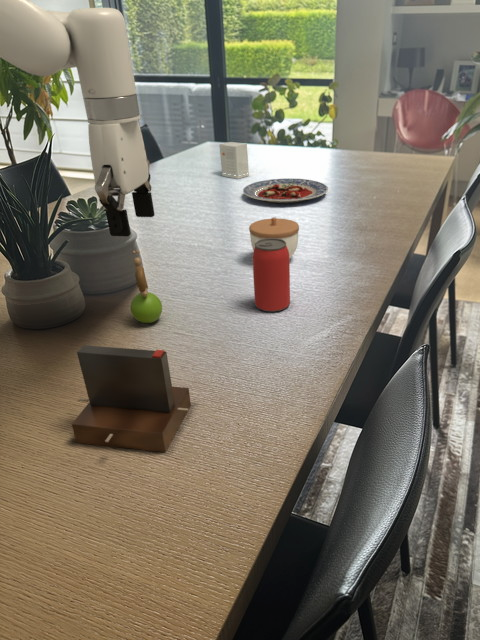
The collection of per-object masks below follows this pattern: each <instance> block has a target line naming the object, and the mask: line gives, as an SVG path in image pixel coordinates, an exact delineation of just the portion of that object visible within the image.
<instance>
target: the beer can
mask: <svg viewBox="0 0 480 640" xmlns="http://www.w3.org/2000/svg"><path fill="white" fill-rule="evenodd" d="M251 258H252V276H253V292H254V293H253V295H254V304H255V306H256V308H257V309H259V310H261V311H264V312H269V313H270V312H273V313H275V312H280V311H283V310H285V309H287V308H288V307H289V306H290V304H291V276H290V275H291V274H290V272H291V269H290V258H289V251H288V248H287V246H286V242H285V241H284V240H282V239H277V238H266V239H261V240H259V241H257V242H256V243H255V248H254V251H253V250H252V257H251Z"/></svg>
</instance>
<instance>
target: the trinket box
mask: <svg viewBox="0 0 480 640" xmlns="http://www.w3.org/2000/svg"><path fill="white" fill-rule="evenodd" d="M299 230H300V225H299V223H298V222H296V221H295V220H292V219H288V218H277V217H271V218H265V219H260V220H257V221H254V222H252V223H250V224H249V227H248V231H249V239H250V245H251V248H252V252H253V251H254V248H255V243H256V242H257V241H259V240H261V239H266V238H277V239H282V240H284V241H285V242H286V246H287V248H288V251H289V259H291V258H292V257H293V256H294V254H295V252H296V251H297V249H298V243H299Z"/></svg>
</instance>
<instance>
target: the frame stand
mask: <svg viewBox="0 0 480 640" xmlns="http://www.w3.org/2000/svg"><path fill="white" fill-rule="evenodd" d="M172 390H173V396H174V403H175V405H174V407H173V408H172V410H171V412H170V413H169V412H159V411H148V410H138V409H128V408H117V407H107V406H97V405H90V402H89V398H78V399H77V401H78V402H86V403H87V404H86V405H85V407H84V408H83V409H82V411H81V412H80V413H79V414H78V415H77V417H76V418H75V419H74V420H73V422H72V423H71V428H72V432H73V434H74V438H75V441H76V443H77V444H84V445H85V444H87V445H96V446H104V447H113V448H125V449H132V450H141V451H151V452H161V453H166V452H167V450H169V447H170V445H171V443H172V441H173V440H174V438H175V436H176V434H177V432H178V430H179V429H180V426H181V425H182V423H183V421H184V420H185V417H186V415H188V412H189V410H190V409H191V407H192V404H191V396H190V395H191V394H190V388H189V387H184V386H183V387H181V386H172Z"/></svg>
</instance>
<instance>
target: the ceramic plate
mask: <svg viewBox="0 0 480 640" xmlns="http://www.w3.org/2000/svg"><path fill="white" fill-rule="evenodd" d="M262 188H263V189H262ZM260 189H261V190H260ZM258 190H259V191H258ZM256 191H257V192H256ZM328 191H329V186H328V185H326V184H325V183H323V182H320V181H317V180H312V179H307V178H273V179H271V178H270V179H266V180H259V181H256V182H252V183H250V184H248V185H246V186H245V187H243V189H242V192H243V194H244V195H245V196H246V197H248V198H251V199H255V200H259V201H264V202H267V203H272V204H293V203H302V202H305V201H308V200H311V199H315V198H319V197H321V196H323V195H325V194H326V193H328ZM255 192H256V195H257V196H256V195H255Z"/></svg>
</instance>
